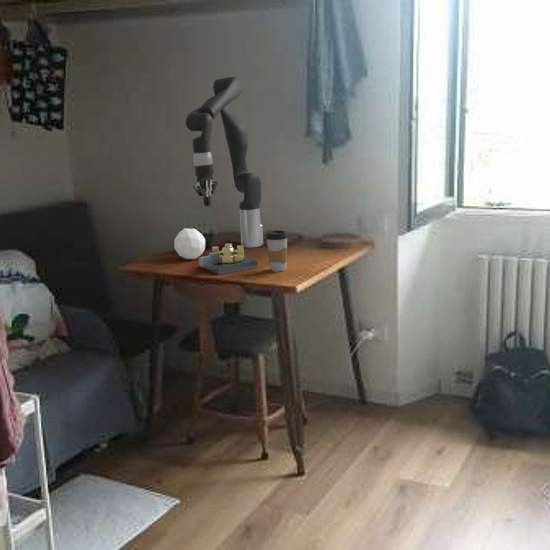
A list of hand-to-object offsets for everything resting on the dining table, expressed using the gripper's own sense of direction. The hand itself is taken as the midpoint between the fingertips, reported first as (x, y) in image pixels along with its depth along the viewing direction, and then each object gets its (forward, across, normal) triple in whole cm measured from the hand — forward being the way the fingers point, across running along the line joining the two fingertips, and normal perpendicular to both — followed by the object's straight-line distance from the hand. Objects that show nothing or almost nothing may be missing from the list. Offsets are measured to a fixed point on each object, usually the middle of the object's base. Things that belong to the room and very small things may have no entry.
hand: (207, 205), depth 297 cm
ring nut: (+20, +9, +12) cm, 25 cm away
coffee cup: (+24, 0, +34) cm, 41 cm away
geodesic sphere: (+24, 0, -13) cm, 27 cm away
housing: (+24, +6, +13) cm, 27 cm away
